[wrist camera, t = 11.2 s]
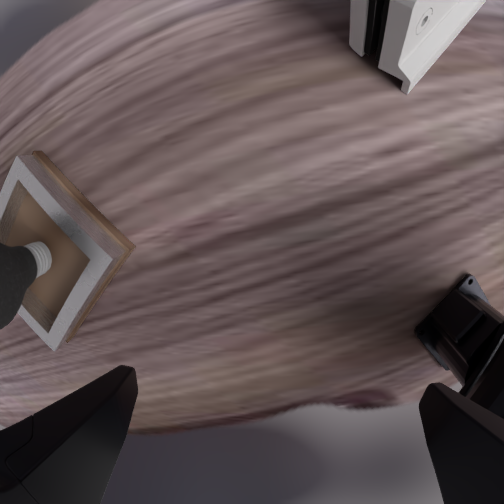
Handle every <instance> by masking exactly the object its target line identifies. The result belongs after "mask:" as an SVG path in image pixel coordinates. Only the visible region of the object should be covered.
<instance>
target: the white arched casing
mask: <svg viewBox="0 0 504 504" xmlns="http://www.w3.org/2000/svg"><path fill="white" fill-rule="evenodd" d="M485 1H486V0H351V4H350V37H349V45H350V46H351V48H352V49H353V50H354V51H355V52H356V53H357V54H359V55H360V56H361V57H362V56H363V55H364V54H365V53H366V54H368V55H369V56H370V55H371V53H372V52H373V51H374V50H375V49H376V48H377V52H376V58H375V60H377V61H378V62H379V66H378V68H379V69H381V70H383V71H385V72H387V73H389V74H391V75H393V76H395V77H397V78H399V79H401V80H403V84H402V88H401V91H402V92H404V93H405V94H408V93H409V92H410V91H411V89H412V88H413V87H414V86H415V85H416V84H417V82H418V81H419V80H420V79H421V78H422V77H423V75H424V74H425V73H426V72H427V71H428V69H429V68H430V67H431V66H432V65H433V64H434V62H435V61H436V60H437V59H438V58H439V56H440V55H441V54H442V53H443V52H444V51H445V49H446V48H447V47H448V46H449V45H450V43H451V42H452V41H453V40H454V39H455V37H456V36H457V35H458V34H459V33H460V31H461V30H462V29H463V28H464V27H465V25H466V24H467V23H468V22H469V21H470V19H471V18H472V17H473V16H474V15H475V13H476V12H477V11H478V10H479V9H480V7H481V6H482V5H483V4H484V3H485Z"/></svg>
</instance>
